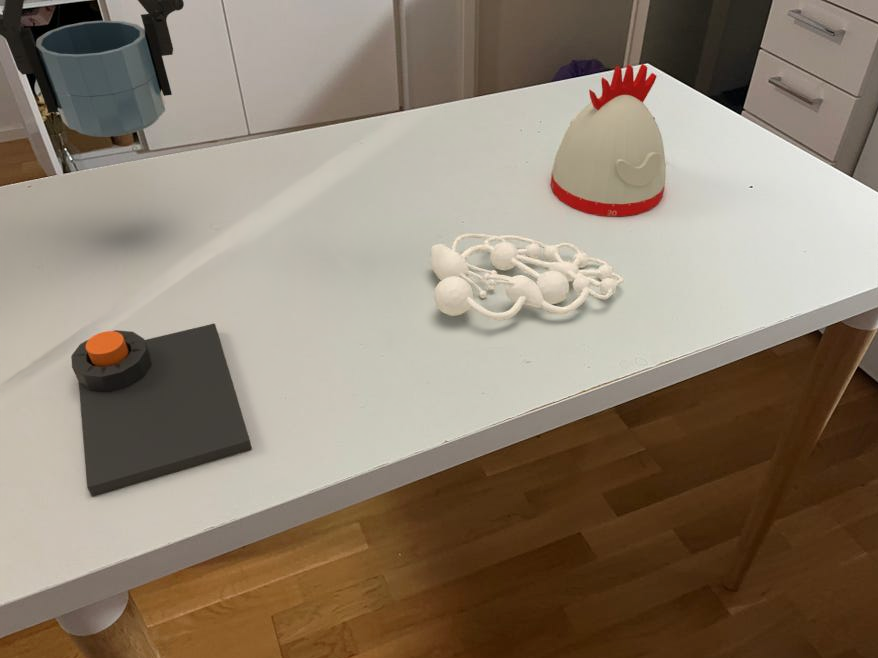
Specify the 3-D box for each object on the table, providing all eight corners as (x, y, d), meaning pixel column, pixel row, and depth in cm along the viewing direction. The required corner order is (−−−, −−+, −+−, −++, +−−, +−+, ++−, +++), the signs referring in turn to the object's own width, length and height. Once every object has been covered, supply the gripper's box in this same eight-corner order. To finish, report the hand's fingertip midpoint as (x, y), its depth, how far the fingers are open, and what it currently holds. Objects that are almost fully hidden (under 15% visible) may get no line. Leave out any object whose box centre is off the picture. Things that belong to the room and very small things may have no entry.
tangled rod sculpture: (599, 253, 85) (605, 219, 82) (634, 325, 73) (642, 289, 71) (427, 255, 83) (427, 221, 80) (436, 331, 71) (436, 294, 69)
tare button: (90, 349, 65) (84, 336, 64) (127, 341, 66) (121, 327, 65) (92, 371, 63) (86, 357, 62) (130, 362, 64) (125, 348, 63)
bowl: (44, 126, 70) (12, 44, 65) (119, 92, 76) (95, 14, 71) (114, 148, 67) (87, 63, 62) (187, 111, 73) (167, 31, 68)
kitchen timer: (684, 204, 91) (713, 81, 81) (584, 225, 87) (601, 98, 77) (625, 154, 101) (644, 38, 90) (532, 171, 96) (541, 51, 86)
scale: (80, 365, 68) (69, 340, 66) (217, 332, 71) (210, 307, 69) (92, 497, 57) (78, 472, 55) (252, 450, 61) (245, 424, 59)
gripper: (-170, -191, 49) (-23, 134, 64) (178, -200, 56) (237, 95, 71) (-153, -203, 54) (-21, 101, 69) (164, -210, 61) (222, 67, 76)
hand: (110, 98), depth 70 cm, fingers closed on bowl, 9 cm apart
